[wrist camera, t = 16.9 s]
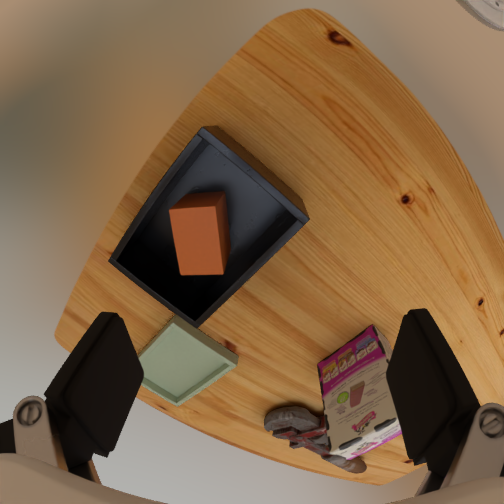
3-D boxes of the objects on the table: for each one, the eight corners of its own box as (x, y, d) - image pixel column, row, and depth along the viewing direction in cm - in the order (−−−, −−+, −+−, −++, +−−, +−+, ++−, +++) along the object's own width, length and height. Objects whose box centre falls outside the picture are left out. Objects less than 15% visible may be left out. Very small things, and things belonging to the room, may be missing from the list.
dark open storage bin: (216, 125, 30) (202, 126, 23) (302, 199, 33) (310, 219, 26) (132, 237, 36) (107, 261, 29) (207, 296, 39) (196, 329, 32)
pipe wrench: (250, 415, 50) (248, 436, 46) (302, 391, 46) (304, 413, 42) (352, 465, 61) (354, 479, 57) (391, 447, 57) (395, 462, 52)
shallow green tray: (176, 313, 40) (172, 322, 39) (238, 356, 43) (237, 365, 41) (128, 365, 47) (123, 373, 45) (180, 398, 49) (177, 406, 48)
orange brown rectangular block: (185, 193, 32) (168, 209, 27) (225, 190, 32) (215, 206, 26) (194, 250, 35) (180, 275, 30) (231, 249, 35) (223, 274, 29)
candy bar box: (334, 376, 44) (348, 461, 29) (315, 363, 43) (326, 454, 28) (389, 338, 40) (423, 423, 25) (373, 322, 39) (407, 412, 24)
